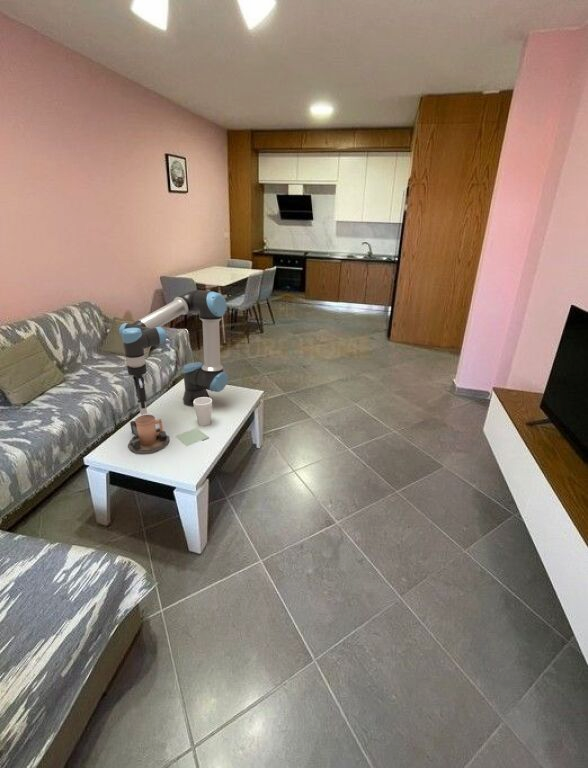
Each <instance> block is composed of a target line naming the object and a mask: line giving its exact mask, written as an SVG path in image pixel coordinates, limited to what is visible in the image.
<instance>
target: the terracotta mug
mask: <svg viewBox="0 0 588 768" xmlns="http://www.w3.org/2000/svg"><path fill="white" fill-rule="evenodd" d="M134 421H135V423H136V425H137V431H138V437H139V440H140V445H142V446H150V445H153V444H155V443H156V442H157V436H159V433H160V432H162V431H164V429H163V421H162V418H161V419H156V417H155V416H154V414H142V415H139V416H137V417H136V418H135V420H134ZM156 425H158V426H159V427H158V428H160V431H159V432H156V429H157V426H156Z"/></svg>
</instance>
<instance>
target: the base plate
mask: <svg viewBox="0 0 588 768" xmlns="http://www.w3.org/2000/svg"><path fill="white" fill-rule="evenodd" d="M138 440H139V438H138ZM164 442H165V440H163V441H161V440H160V437H158V438H157V442H156V443H155V444H153V445H150V446H142V445H141V448H140V449H137V450H151V449H154V448H156V447H158V446H161V445H163V444H164ZM169 444H170V440H169V441H168V443H167V445H166V447H168V445H169ZM131 446H133V445H131ZM166 447H164V448H162V449H160V450H158V451H155V452H153V453H134V452H133V451H132V450H131V449H130V448H128V450H129V451H130V452H131V453H133V454H136V455H143V456H144V455H152V454H156V453H159V452H160V451H163V450H164V449H165V448H166Z"/></svg>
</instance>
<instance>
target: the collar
mask: <svg viewBox="0 0 588 768" xmlns="http://www.w3.org/2000/svg"><path fill="white" fill-rule="evenodd" d="M129 424H130V428H131V429H130V430H131V433H132V434H134V436H132V437H131V439H130V441H129V442H128V444H127V448H128V449H129V448H130V449H131V450H132V451H133V452H134V453H133V454H135V453H152V454H154V453H153V452H155V451H158V450H160V449H162V448H164V447H165V448H167V446H168V445H167V443H168V441H169V442H170V435H167V432H166V431H165V430H163V431H162V432H160V433H159V436H157V438H158V437H160V440H161V441H163V440H165V442H164V444H163V445H161V446H158V447H156V448H154V449H151V450H137V449H140V448H141V445H140V440H138V438H139V437H138V431H137V425H136V423H135V420H132V421H130V423H129ZM159 431H160V427H158V428H157V427H156V432H159ZM131 445H133V446H131ZM166 445H167V446H166ZM165 448H164V449H165ZM162 450H163V449H162ZM158 452H159V451H158Z"/></svg>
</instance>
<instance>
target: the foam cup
mask: <svg viewBox="0 0 588 768" xmlns="http://www.w3.org/2000/svg"><path fill="white" fill-rule="evenodd" d="M193 404H194V406H193V408H194V412H195V417H196V419H197V423H198V425H199V426H201V427H207V426H209V425H210V424H211V423H212V422H211V420H212V410H213V399H212V398H211V397H209V398H208V397H200V398H197V399H195V400H194V401H193Z"/></svg>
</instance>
